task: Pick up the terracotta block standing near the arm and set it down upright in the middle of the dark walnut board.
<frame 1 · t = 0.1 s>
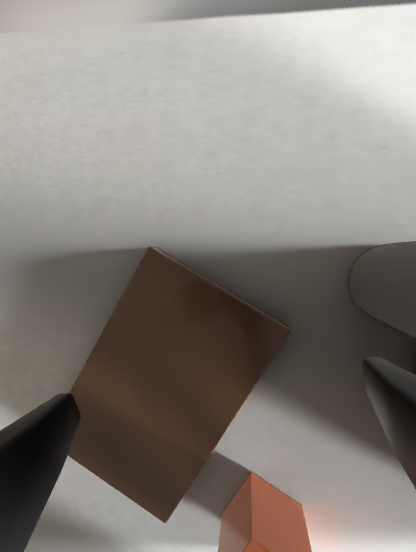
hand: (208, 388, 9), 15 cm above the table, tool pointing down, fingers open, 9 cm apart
terracotta block: (261, 509, 25), on the table
bottle: (386, 281, 22), on the table
board: (162, 381, 25), on the table
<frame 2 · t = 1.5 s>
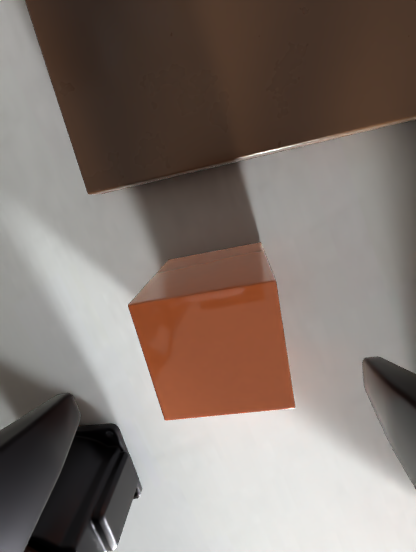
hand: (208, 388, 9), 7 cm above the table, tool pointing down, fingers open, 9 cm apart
terracotta block: (222, 294, 16), on the table
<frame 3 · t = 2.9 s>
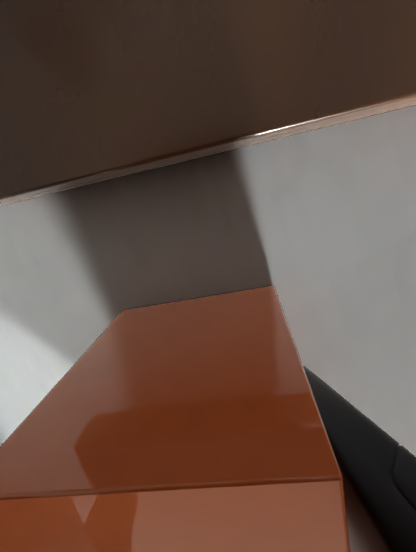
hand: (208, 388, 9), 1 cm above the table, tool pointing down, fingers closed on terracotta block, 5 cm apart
terracotta block: (211, 364, 10), on the table, touching gripper
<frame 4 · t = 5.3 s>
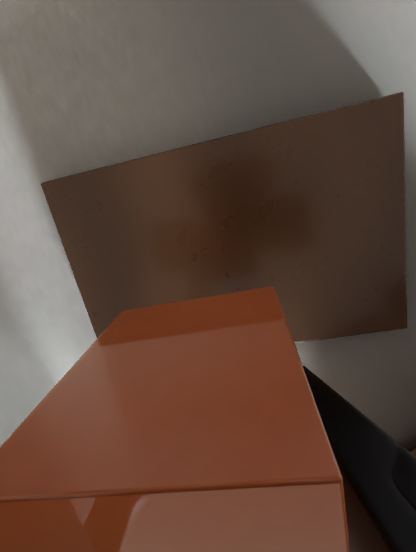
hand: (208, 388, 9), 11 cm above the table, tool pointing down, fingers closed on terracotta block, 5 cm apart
terracotta block: (211, 365, 10), point 10 cm above the table, touching gripper
board: (227, 251, 19), on the table
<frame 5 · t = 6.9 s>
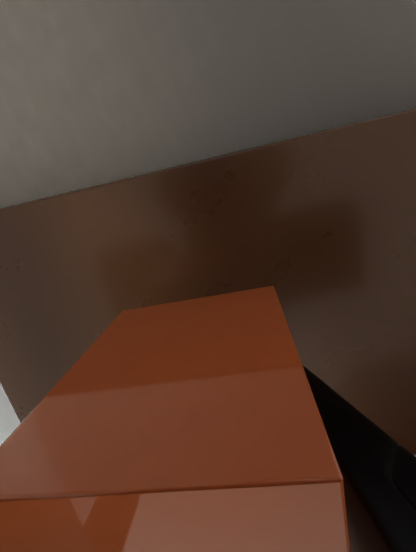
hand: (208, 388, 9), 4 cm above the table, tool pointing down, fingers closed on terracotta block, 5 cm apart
terracotta block: (211, 364, 10), point 3 cm above the table, touching gripper
board: (217, 323, 12), on the table
when the fingers open (3 cm above the table, at t = 7.7 s): terracotta block stays where it is, resting on board.
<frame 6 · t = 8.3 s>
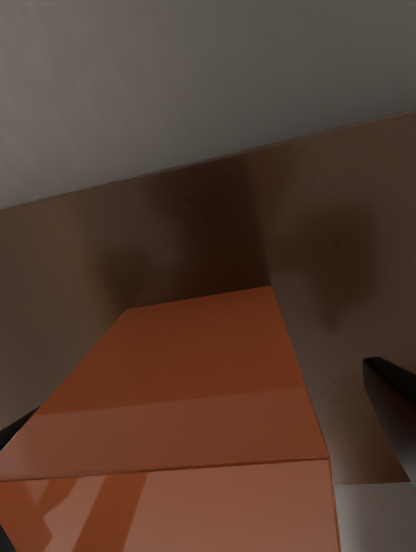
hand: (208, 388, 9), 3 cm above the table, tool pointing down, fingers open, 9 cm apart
terracotta block: (211, 361, 10), point 1 cm above the table, touching board
board: (215, 338, 12), on the table
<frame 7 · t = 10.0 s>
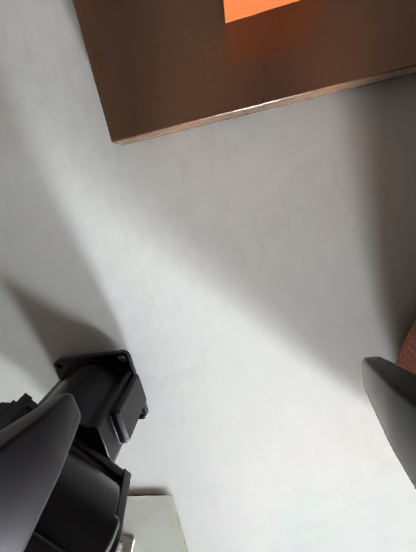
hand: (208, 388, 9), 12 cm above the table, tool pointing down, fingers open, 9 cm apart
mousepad: (80, 547, 32), on the table
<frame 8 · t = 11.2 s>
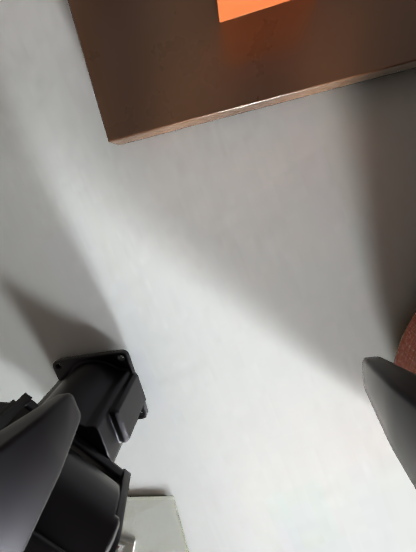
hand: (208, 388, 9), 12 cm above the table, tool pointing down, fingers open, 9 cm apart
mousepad: (81, 550, 32), on the table
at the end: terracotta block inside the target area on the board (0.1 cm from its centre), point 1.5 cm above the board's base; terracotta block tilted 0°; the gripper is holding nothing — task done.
